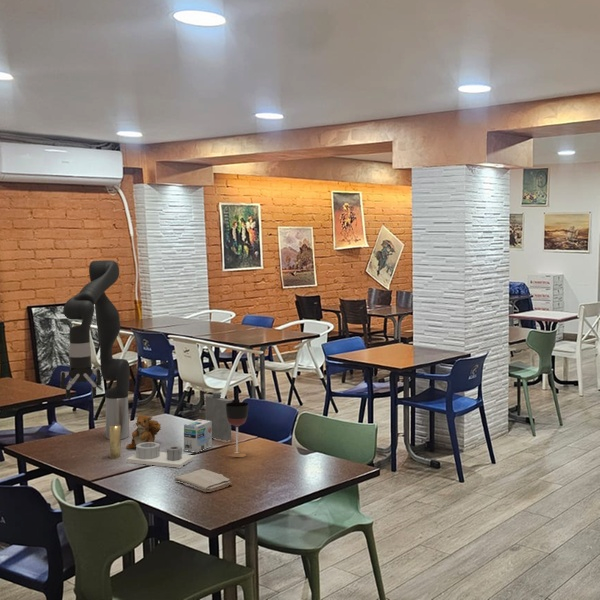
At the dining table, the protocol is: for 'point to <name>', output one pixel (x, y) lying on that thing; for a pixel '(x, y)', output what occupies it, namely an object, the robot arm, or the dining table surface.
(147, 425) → the stuffed squirrel
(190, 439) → the light bulb box
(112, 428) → the brass cylinder
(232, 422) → the wineglass
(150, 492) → the dining table surface
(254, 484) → the dining table surface
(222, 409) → the grey upright flat block
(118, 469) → the dining table surface
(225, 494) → the dining table surface
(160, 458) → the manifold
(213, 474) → the washcloth
